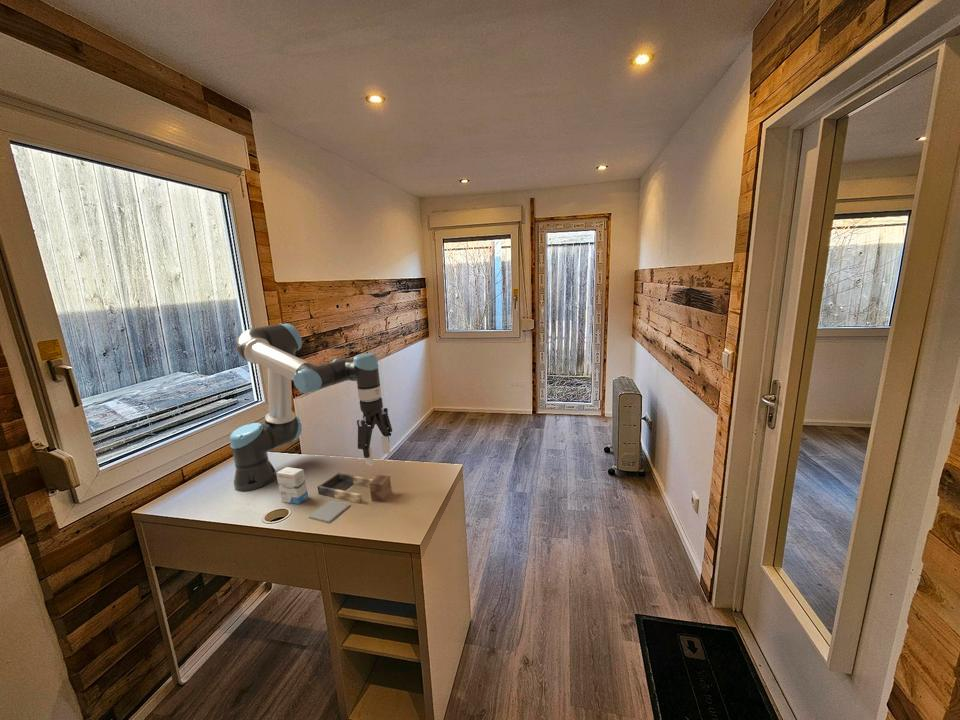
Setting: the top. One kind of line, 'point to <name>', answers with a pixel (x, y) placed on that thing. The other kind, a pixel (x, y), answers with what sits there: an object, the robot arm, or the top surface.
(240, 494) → the top surface
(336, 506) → the slate pad
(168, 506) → the top surface
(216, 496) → the top surface
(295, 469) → the ink box
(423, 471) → the top surface
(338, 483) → the channel
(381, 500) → the walnut block
